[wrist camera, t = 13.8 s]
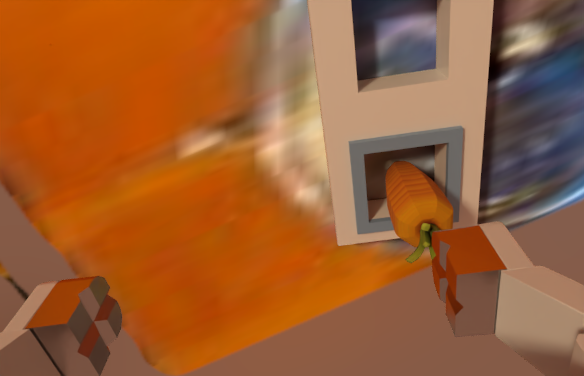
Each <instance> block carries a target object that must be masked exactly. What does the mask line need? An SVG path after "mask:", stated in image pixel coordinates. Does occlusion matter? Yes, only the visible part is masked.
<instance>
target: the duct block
mask: <svg viewBox="0 0 584 376" xmlns="http://www.w3.org/2000/svg"><path fill="white" fill-rule="evenodd" d="M493 4H494V0H437V28H436V69H431V70H425V71H418V72H411V73H405V74H398V75H391V76H385V77H378V78H371V79H365V80H358V81H357V71H356V58H355V45H354V32H353V19H352V6H351V0H307V5H308V13H309V21H310V29H311V38H312V46H313V54H314V62H315V70H316V78H317V86H318V94H319V102H320V110H321V118H322V126H323V134H324V142H325V150H326V158H327V166H328V174H329V182H330V190H331V198H332V206H333V214H334V223H335V230H336V236H337V242H338V246H340V245H348V244H356V243H365V242H373V241H381V240H389V239H397V238H399V237H398V236H397V235H396V233H395V231H394V228H393V224H392V221H391V218H390V215H389V211H388V207H387V198H385V199H377V200H369V201H367V191H366V177H365V164H364V154H370V153H377V152H385V151H392V150H399V149H406V148H414V147H421V146H428V145H435V175H434V182H435V183H436V184H437V185H438V187H439V188H440V189H441V191H442V192H443V193H444V195H445V196H446V198H447V199H448V200H449V202H450V203H451V205H452V207H453V229H455V228H462V227H469V226H476V225H477V220H478V207H479V193H480V179H481V166H482V152H483V139H484V125H485V112H486V98H487V85H488V71H489V58H490V44H491V31H492V17H493Z"/></svg>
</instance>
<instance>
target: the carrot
mask: <svg viewBox="0 0 584 376" xmlns="http://www.w3.org/2000/svg"><path fill="white" fill-rule="evenodd" d="M386 196H387V207H388V211H389V215H390V218H391V221H392V224H393V228H394V231H395V233H396V235H397V236H398V237H399V238H401V239H403V240H404V241H406V242H407V243H409V244H410V245H412V246H414V247H417V249H416V250H415V251H414V253H413V254H411V255H410V256H409V257H408V258H407V259H406V261H407V262H409V263H412V262H414V261H416V260H417V259H418V258H419V257H420V256H421V254H422V253H423V251H424V248H425V247H429V250H430V254H431V258H432V260H433V258H434V257H435V256H436V254H435V252H434V249H433V247H432V233H433V231H440V230H447V229H453V207H452V205H451V203H450V202H449V200H448V199H447V198H446V196H445V195H444V193H443V192H442V191H441V189H440V188H439V187H438V185H437V184H436V183H435V182H434V181H433V180H432V179H431V178H429V177H428V176H427V175H426V174H424V173H423V172H422V171H421V170H419V169H418V168H416V167H415V166H414V165H412V164H411V163H409V162H406V161H396V162H394V163H393V164H392V165H391V166H390V167H389V169H388V170H387V173H386Z"/></svg>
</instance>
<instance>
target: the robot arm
mask: <svg viewBox="0 0 584 376" xmlns="http://www.w3.org/2000/svg"><path fill="white" fill-rule="evenodd" d="M432 247H433V249H434V252H435V254H436V256H435V257H434V258H433V260H432V272H433V277H434V284H435V287H436V291H437V293H438V296H439V298H440V300H442V301H443V302H445V303H446V316H447V318H448V321H449V323H450V325H451V328H452V330H453V333H454V335H455V337H462V336H473V335H485V334H495V336H496V337H497V338H499V339H500V340H501V341H503V342H504V343H505V344H506V345H508V346H509V347H510V348H511V349H513V350H514V351H515V352H516V353H518V354H519V355H520V356H521V357H523V358H524V359H525V360H527V361H528V362H529V363H530V364H531V365H533V366H534V367H535V368H536V369H538V370H539V371H540V372H541V373H543V374H544V375H545V376H584V285H583V284H580V283H578V282H576V281H573V280H572V279H570V278H567V277H565V276H563V275H561V274H559V273H557V272H555V271H552V270H550V269H548V268H546V267H544V266H534V264H533V263H532V262H531V260H530V259H529V258H528V257H527V255H526V254H525V252H524V251H523V250H522V248H521V247H520V246H519V244H518V243H517V242H516V240H515V239H514V238H513V236H512V235H511V234H510V232H509V231H508V230H507V228H506V227H505V226H504V224H503V223H501V222H499V221H497V222H491V223H484V224H478V225H476V226H469V227H462V228H455V229H447V230H440V231H433V233H432ZM109 289H110V287H109V285H108V283H107V282H106V280H105V278H103V277H100V276H94V277H85V278H76V279H68V280H62V281H51V282H44V283H42V284H40V285H38V286H37V287H36V288H35V290H34V291H33V292H32V294H31V295H30V296H29V298H28V299H27V300H26V302H25V303H24V304H23V306H22V307H21V308H20V310H19V311H18V312H17V314H16V315H15V317H14V318H13V319H12V320H11V322H10V323H9V324H8V325H7V327H6V328H5V330H4V331H3V332H1V333H0V376H100V375H101V373H102V370H103V368H104V366H105V364H106V362H107V359H108V357H109V355H110V351H109V349H108V346H109V345H110V344H111V343H112V342H113V341H114V340H115V339H116V338H117V336H118V334H119V332H120V330H121V323H122V314H121V309H120V306H119V304H118V302H117V301H116V300H115V299H113V298H112V297H110V296H109V295H108V292H109Z"/></svg>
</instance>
